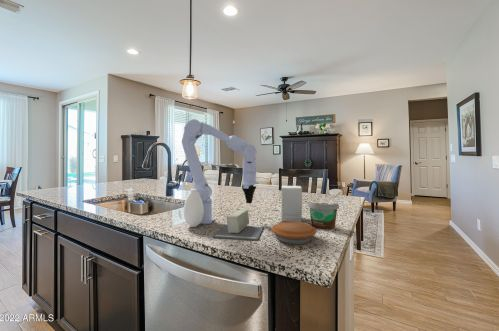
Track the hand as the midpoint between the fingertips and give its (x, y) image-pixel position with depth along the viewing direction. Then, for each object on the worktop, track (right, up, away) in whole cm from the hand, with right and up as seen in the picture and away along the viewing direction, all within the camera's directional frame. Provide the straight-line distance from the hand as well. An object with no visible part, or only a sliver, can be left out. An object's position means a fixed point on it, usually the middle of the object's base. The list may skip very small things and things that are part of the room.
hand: (249, 203), depth 105 cm
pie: (+16, -9, -22) cm, 28 cm away
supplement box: (+19, -8, +4) cm, 21 cm away
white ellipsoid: (-22, -9, -7) cm, 25 cm away
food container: (+29, -9, -9) cm, 32 cm away
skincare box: (-2, -5, -6) cm, 8 cm away
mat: (-4, -9, -15) cm, 18 cm away
